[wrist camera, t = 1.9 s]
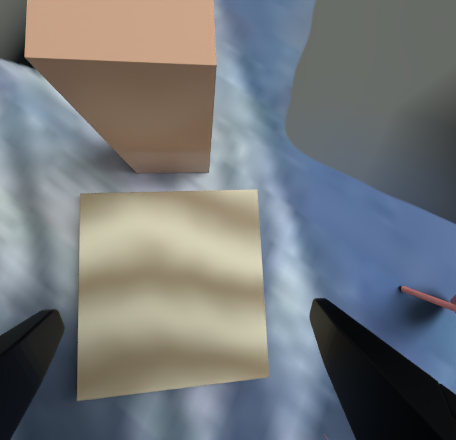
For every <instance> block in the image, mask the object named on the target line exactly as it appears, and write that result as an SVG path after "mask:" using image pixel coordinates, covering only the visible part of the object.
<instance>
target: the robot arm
mask: <svg viewBox="0 0 456 440" xmlns="http://www.w3.org/2000/svg"><path fill="white" fill-rule="evenodd" d="M310 322H311V325H312V328H313V331H314V334H315V338H316V341H317V344H318V347H319V350H320V353H321V356H322V359H323V362H324V365H325V368H326V370H327V373H328V375H329V377H330V380H331V382H332V384H333V387H334V389H335V391H336V394H337V396H338V398H339V401H340V403H341V405H342V408H343V410H344V412H345V415H346V417H347V420H348V422H349V424H350V427H351V429H352V431H353V434H354V436H355V438H356V440H456V394H454V393H453V392H452V391H450V390H449V389H448V388H446V387H445V386H443V385H442V384H439V383H438V381H437V380H435V379H434V378H433V377H431V376H430V375H429V374H427V373H426V372H424V371H423V370H422V369H420V368H419V367H418V366H416V365H415V364H414V363H412V362H411V361H410V360H408V359H407V358H406V357H404V356H403V355H402V354H400V353H399V352H397V351H396V350H395V349H393V348H392V347H391V346H389V345H388V344H387V343H385V342H384V341H383V340H381V339H380V338H379V337H377V336H376V335H375V334H373V333H372V332H370V331H369V330H368V329H366V328H365V327H364V326H362V325H361V324H360V323H358V322H357V321H356V320H354V319H353V318H352V317H350V316H349V315H348V314H346V313H345V312H343V311H342V310H341V309H339V308H338V307H337V306H335V305H334V304H333V303H331V302H330V301H329V300H327V299H325V298H315V299H314V300H313V302H312V307H311V311H310ZM64 330H65V326H64V323H63V321H62V318H61V316H60V313H59V311H58V310H56V309H45V310H41V311H39V312H38V313H36V314H35V315H33V316H31V317H30V318H28V319H26V320H25V321H23V322H22V323H20V324H18V325H17V326H15V327H14V328H12V329H10V330H9V331H7V332H6V333H4V334H2V335H1V336H0V440H10V439H11V437H12V436H13V434H14V432H15V430H16V428H17V427H18V425H19V423H20V421H21V419H22V417H23V416H24V414H25V412H26V410H27V408H28V407H29V405H30V403H31V401H32V399H33V397H34V396H35V394H36V392H37V390H38V388H39V386H40V384H41V382H42V380H43V378H44V376H45V374H46V372H47V370H48V367H49V365H50V363H51V361H52V358H53V356H54V354H55V352H56V349H57V347H58V345H59V343H60V340H61V338H62V336H63V333H64Z"/></svg>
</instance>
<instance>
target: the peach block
mask: <svg viewBox="0 0 456 440" xmlns="http://www.w3.org/2000/svg"><path fill="white" fill-rule="evenodd" d="M25 58H26V59H27V60H28V61H29V62H30V63H31V64H32V65H33V66H34V67H35V68H36V69H37V70H38V71H39V73H40V74H41V75H42V76H43V77H44V78H45V79H46V80H47V81H48V82H49V83H50V84H51V85H52V86H53V87H54V88H55V89H56V90H57V91H58V92H59V93H60V94H61V95H62V96H63V97H64V98H65V99H66V100H67V101H68V102H69V103H70V105H71V106H72V107H73V108H74V109H75V110H76V111H77V112H78V113H79V114H80V115H81V116H82V117H83V118H84V119H85V120H86V121H87V122H88V123H89V124H90V125H91V126H92V127H93V128H94V129H95V130H96V131H97V132H98V133H99V134H100V135H101V136H102V138H103V139H104V140H105V141H106V142H107V143H108V144H109V145H110V146H111V147H112V148H113V149H114V150H115V151H116V152H117V153H118V154H119V155H120V156H121V157H122V158H123V159H124V160H125V161H126V162H127V163H128V164H129V165H130V166H131V167H132V168H133V170H134V171H135V172H136V173H202V172H209V166H210V152H211V138H212V123H213V109H214V95H215V80H216V66H217V64H216V43H215V22H214V2H213V0H27V18H26V40H25Z"/></svg>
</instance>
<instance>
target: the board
mask: <svg viewBox="0 0 456 440" xmlns="http://www.w3.org/2000/svg"><path fill="white" fill-rule="evenodd" d="M268 377H269V366H268V351H267V335H266V319H265V304H264V288H263V272H262V256H261V241H260V225H259V209H258V194H257V190H217V191H174V192H131V193H87V194H80V247H79V307H78V367H77V401H81V400H89V399H97V398H105V397H114V396H122V395H130V394H138V393H146V392H154V391H162V390H170V389H178V388H187V387H195V386H203V385H211V384H219V383H227V382H235V381H243V380H251V379H259V378H268Z"/></svg>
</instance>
